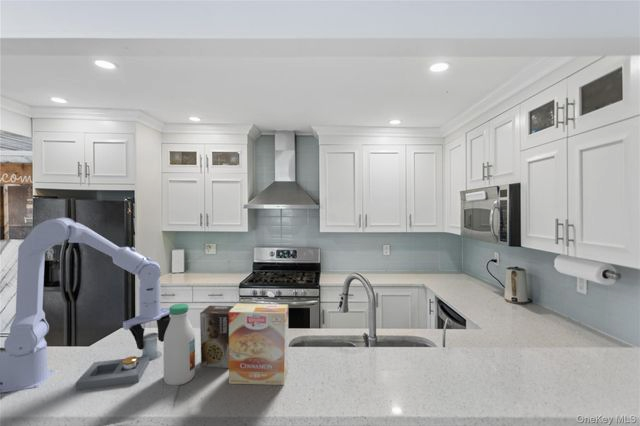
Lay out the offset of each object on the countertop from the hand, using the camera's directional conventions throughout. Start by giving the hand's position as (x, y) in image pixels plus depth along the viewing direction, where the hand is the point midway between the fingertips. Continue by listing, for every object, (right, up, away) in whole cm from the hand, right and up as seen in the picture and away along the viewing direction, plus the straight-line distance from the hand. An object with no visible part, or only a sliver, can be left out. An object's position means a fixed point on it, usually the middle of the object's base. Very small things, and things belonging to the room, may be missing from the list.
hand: (150, 344), depth 93 cm
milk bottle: (+14, -5, -11) cm, 18 cm away
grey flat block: (-4, -4, -10) cm, 12 cm away
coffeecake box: (+35, -5, -10) cm, 37 cm away
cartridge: (0, -4, 0) cm, 4 cm away
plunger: (-1, -4, -9) cm, 10 cm away
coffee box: (+22, -5, -2) cm, 22 cm away
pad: (0, -4, 0) cm, 4 cm away
